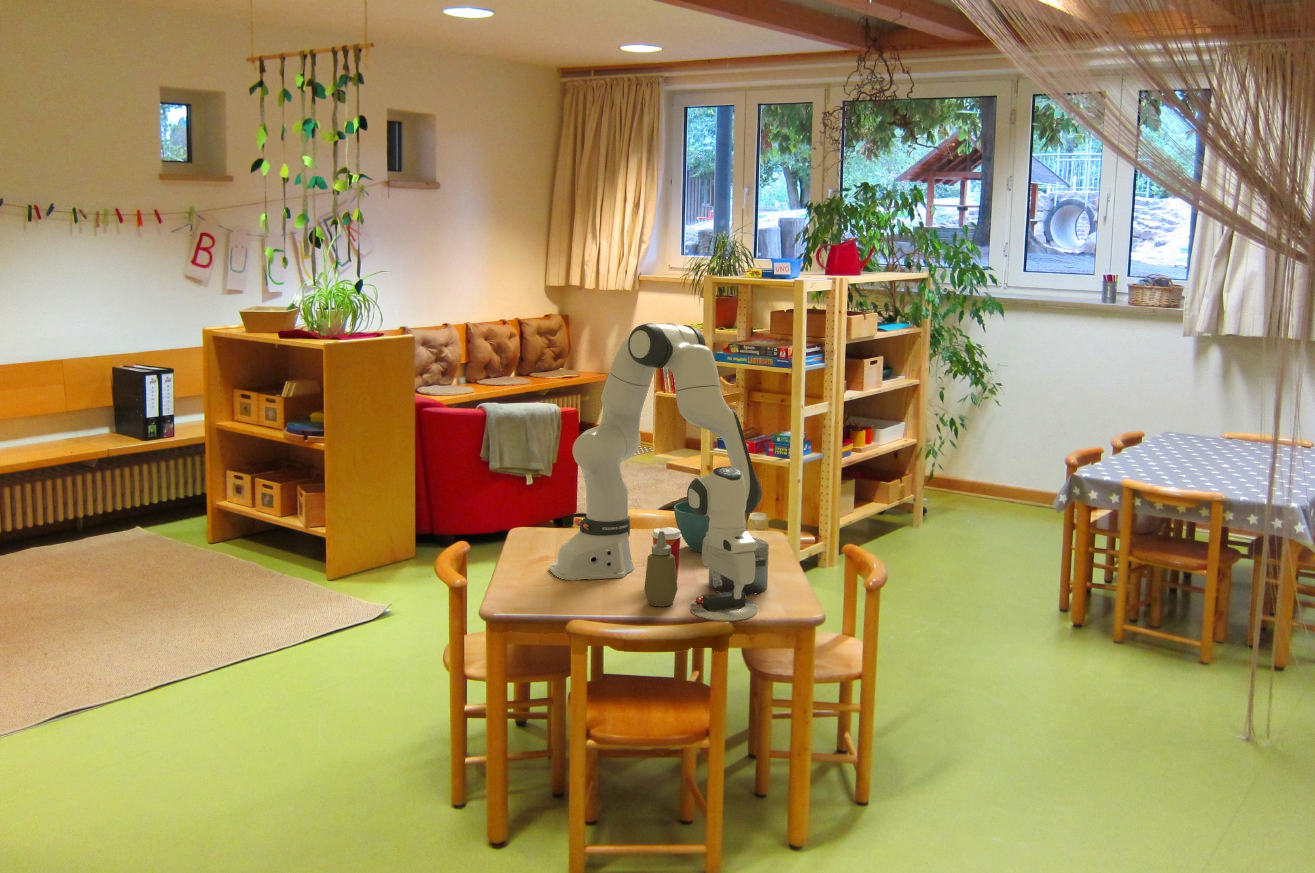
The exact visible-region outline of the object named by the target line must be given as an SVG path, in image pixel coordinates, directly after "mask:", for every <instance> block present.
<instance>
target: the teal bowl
mask: <svg viewBox="0 0 1315 873" xmlns="http://www.w3.org/2000/svg"><path fill="white" fill-rule="evenodd" d="M673 510H674V517H675V518H674V519H675V523H676V526H677V529H679V530H680V534H681V535H682V537H681V538H682V539H683V540H684V541H685V543H686V545H687V546H688V547H689V549H690V550H692V551H694V552H698V553H702V546H703V540H704V538H705V537H706V532H707V531H708V530H709V521H710V517H709V516H702V515H697V514H696V513H694V512H693V511H692V510H691V509H690V507H689V506H688V502H687V500H685V501H681V502H678V503H676V504H674V507H673Z"/></svg>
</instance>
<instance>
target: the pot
mask: <svg viewBox="0 0 1315 873" xmlns="http://www.w3.org/2000/svg"><path fill="white" fill-rule="evenodd" d="M752 538H753V539H754V540H755V542H756V550H754V551H753V552H754V555H755V578H754V581H753V582H752V583H751V584H745V585H744V587H743V589H742V592H743V593H745V594H746V595H745V596H751V595H750V594H752V595H756V594H755V593H757V594H760V592H761V593H763V592H765V591H766V590H767V589H768V583H769V581H768V580H769V579H768V578H769V576H768V575H769V549H770V546H769V543H768V542H767V541H766V540H762V539H760V538H757V537H756V538H755V537H752ZM720 578H721V580H722V587H721V588H715V587H714V586H713V579H712V576H711V572H710V568H709V567H708V587H709V589H710V590H712V589H713V590H712V591H714V592H716V591H717V593H719V592H720V593H723V592H731V591H733V590H734V587H735V585H734V581H732V580H731V579H729V578H727V577H725V576H723V575H721V574H720Z"/></svg>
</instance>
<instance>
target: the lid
mask: <svg viewBox="0 0 1315 873" xmlns="http://www.w3.org/2000/svg"><path fill="white" fill-rule="evenodd" d="M746 596H747V595H746V594H745V593H743V592H742V591H741V598H740V599H735V598H733V597H732V591H731V592H723V593H719V592H717V593H710V594H702V597H701V596H700V597H696V598H695V600H694V601H692V602H691V603H690V609H689V610H690V612H691V614H693V615H695V616H696V617H699V618H701V619H705V620H709V621H717V622H737V621H742V620H748V619H751V618H752V617H755V616H756V615H757V613H758V605H757V604H755V603H754V602H753V601H751V600H749V599H746Z"/></svg>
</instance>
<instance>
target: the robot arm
mask: <svg viewBox="0 0 1315 873" xmlns="http://www.w3.org/2000/svg"><path fill="white" fill-rule="evenodd" d="M611 363H612V364H611V366H610V370H609V372H608V375H607V378H606V381H605V385H604V387H603V391H602V394H601V398H600V399H601V400H600V401H601V404H602V415H601V421H600V423H599V424H598V425H597V426H595V427H592V428H589V429H587V430H584V431H583V432H582V433H581V434H580V435H579V436H578V437H577V438H576V439H575V441H574V442H573V444H572V455H573V458H574V461H575V463H576V464H577V465H578V466H579V467H580V469H581V472H582V476H583V480H584V485H585V492H586V493H585V494H586V495H585V496H586V497H585V498H586V515H585V516H584V518H583V519H581V518H580V517H578V516H576V517H574V518H573V523H574V525H576V526H578V527H579V531H578V532H577V533H575V534H574V535H573V536H572V537H571V538H569V539H568V540H567V541H566V542H564V543H563V544H562V545H561V546H560V548H559V551H558V556H557V561H556V562H553V563H552V562H551V563H550V564H549V568H548V570H550V571H551V572H552V573H553V574H554V575H555V576H554V575H553V574H552V573H551V572H550V571H549V572H550V573H551V574H552V575H553V576H554V577H556V576H557V577H556V578H558V577H559V578H558V579H560V578H561V580H563V579H565V580H564V581H568V580H571V581H581V580H580V579H588V580H601V579H602V580H604V579H616V578H618V579H620V578H623V577H625V576H626V575H627V574H628V573H630V572H631V571H633V570H634V569H635V566H634V562H633V559H632V558H633V557H632V555H631V554H632V553H631V548H630V538H629V537H630V534H631V533H630V532H631V523H630V522H631V520H630V519H631V518H630V516H629V488H628V485H627V484H626V483H625V482H624V478H623V476H622V470H621V463H622V462H624V461H627V460H629V459H630V458H631V457H632V456H633V455H634V454H635V453H637V451H638V450H639V448H640V446H641V442H642V437H641V433H640V426H641V415H642V411H643V409H644V405H645V402H646V400H647V396H648V392H649V391H650V390H649V389H650V387H651V384H652V381H653V377H654V374H655V373H656V372H655V371H656V370H657V369H668V370H669V371H670V372H671V373H672V374H673V375H672V376H673V380H674V387H675V388H674V389H675V397H676V398H675V399H676V404H677V408H678V412H679V413H680V415H681V417H683V419H684V420H685V421H686V422H688V423H689V424H691V425H693V426H695V427H698V428H700V429H701V428H702V429H705V430H706V431H710V432H712V433H714V434H716V435H718V437H720V438H721V440H722V442H723V444H724V446H725V449H726V454H727V456H728V459H729V463H730V466H719V467H718V466H717V467H716V468H714V469H712V471H711V472H710V474H707V475H703V476H699V477H695V478H694V479H693V480H692V481H691V482H690V484H689V485H688V487H687V491H686V501H687V502H688V506H689V507H690V509H691V510H692V511H693V512H694V513H696V514H697V515H702V516H709V517H710V521H709V530H708V531H707V532H706V537H705V538H704V540H703V546H702V552H701V561H702V564H703V566H704V567H707V568H708V569H709V568H710V572H711V576H712V579H713V586H714V587H715V588H721V587H722V580H721V578H720V574H721V575H723V576H725V577H727V578H729V579H731V580H732V581H734V585H735V587H734V590H733V591H732V597H733V598H735V599H740V598H741V591H742V589H743V587H744V585H745V584H751V583H752V582H753V581H754V578H755V555H754V552H753V551H754V550H756V542H755V540H754V539H753V538H754V537H753V536H751V535H750V533H749V531H748V530H747V521H746V517H745V514H751V513H752V512H753V511H754V510H755V509H756V508H757V507H758V506H759V504H760V503H761V501H762V498H763V492H762V487H761V484H760V481H759V478H758V476H757V474H756V471H755V469H754V467H753V463H752V459H751V456H750V452H749V448H748V445H747V441H746V438H745V435H744V431H743V427H742V425H741V422H740V419H739V416H738V414H737V412H736V411H735V410H734V409H732V408H731V407H730V406H729V405H728V403H727V402H726V400H725V397H724V396H723V393H722V389H721V380H720V376H719V371H718V370H719V369H718V366H717V362H716V359H715V356H714V353H713V351H712V350H711V349H710V348H709V347H707V346H706V339H705V336H704V335H703V333H702V332H701V331H699V329H698V328H695V327H694V326H690V325H688V324H678V323H673V322H672V323H670V322H665V323H653V322H648V323H642V324H640V325H638V326H636V327H634V329H633V330H632V331H631V333H630V334H629V336H628V337H626V338H625V339H623V341H622V343H621V344H620V346H619V348H618V350H617V352H616V354H615V356H614V358H613V361H612V362H611Z"/></svg>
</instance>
